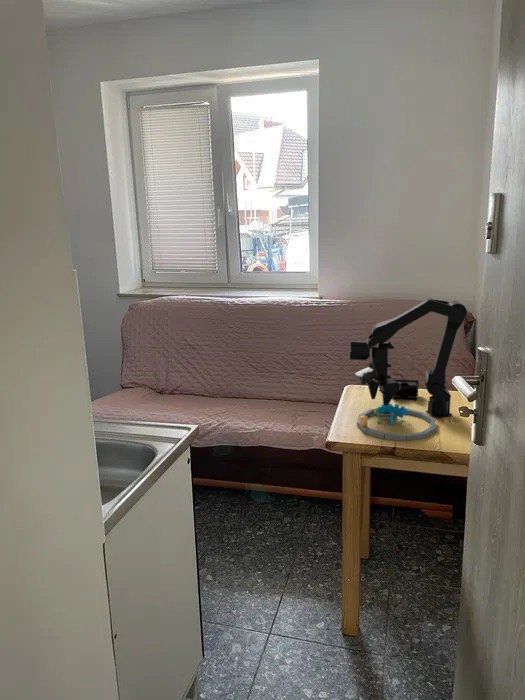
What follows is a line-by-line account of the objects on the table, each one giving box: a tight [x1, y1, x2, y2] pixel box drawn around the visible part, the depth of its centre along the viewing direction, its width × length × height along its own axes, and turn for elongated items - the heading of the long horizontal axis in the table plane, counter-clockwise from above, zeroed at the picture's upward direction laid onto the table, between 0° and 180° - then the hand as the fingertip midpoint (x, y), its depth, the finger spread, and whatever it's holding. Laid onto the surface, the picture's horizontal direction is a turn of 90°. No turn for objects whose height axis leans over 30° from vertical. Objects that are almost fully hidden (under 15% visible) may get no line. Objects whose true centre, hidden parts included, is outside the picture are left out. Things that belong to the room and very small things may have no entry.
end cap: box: [390, 378, 419, 402], centre depth 204 cm, size 10×7×7 cm
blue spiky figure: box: [373, 403, 408, 426], centre depth 180 cm, size 11×6×10 cm
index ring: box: [356, 407, 437, 442], centre depth 178 cm, size 26×25×4 cm
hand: (379, 403), depth 189 cm, fingers open, 9 cm apart
